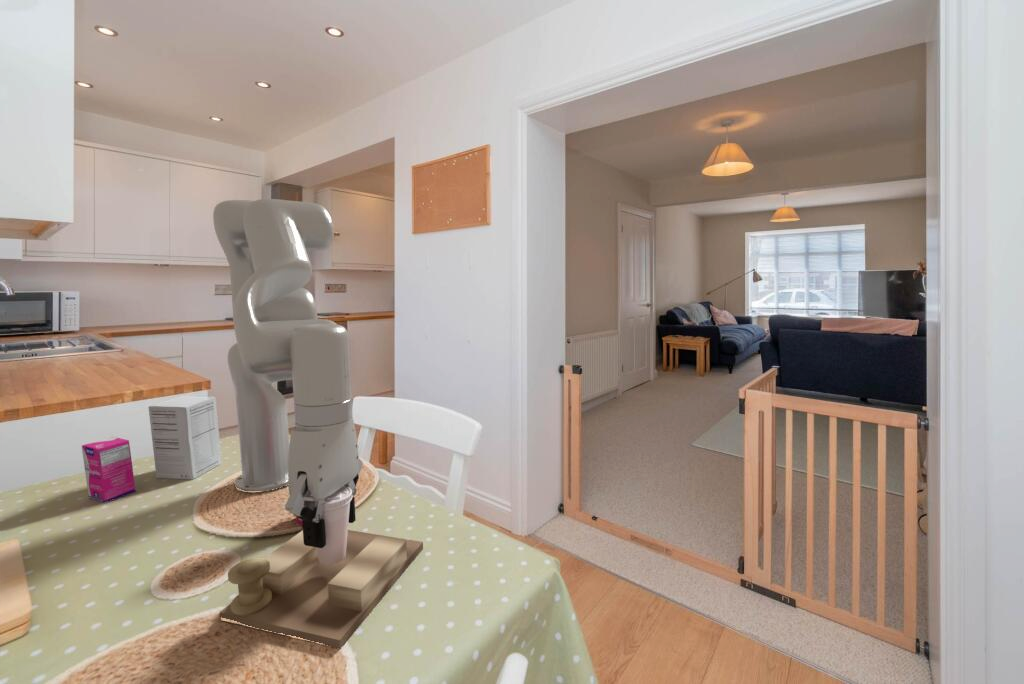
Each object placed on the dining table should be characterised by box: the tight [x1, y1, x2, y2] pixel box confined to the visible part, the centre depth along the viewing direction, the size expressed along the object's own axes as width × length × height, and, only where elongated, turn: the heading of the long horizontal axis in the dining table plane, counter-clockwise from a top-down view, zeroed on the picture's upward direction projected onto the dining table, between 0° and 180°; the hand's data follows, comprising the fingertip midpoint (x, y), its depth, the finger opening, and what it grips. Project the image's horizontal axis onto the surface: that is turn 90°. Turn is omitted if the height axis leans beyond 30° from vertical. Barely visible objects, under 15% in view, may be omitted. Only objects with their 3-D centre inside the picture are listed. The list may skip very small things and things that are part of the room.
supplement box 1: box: [81, 436, 136, 503], centre depth 96 cm, size 6×6×12 cm
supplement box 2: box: [147, 395, 223, 481], centre depth 108 cm, size 10×9×17 cm
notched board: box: [219, 529, 424, 650], centre depth 68 cm, size 22×18×6 cm
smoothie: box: [309, 486, 354, 565], centre depth 67 cm, size 6×6×14 cm
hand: (330, 531), depth 68 cm, fingers closed on smoothie, 6 cm apart
